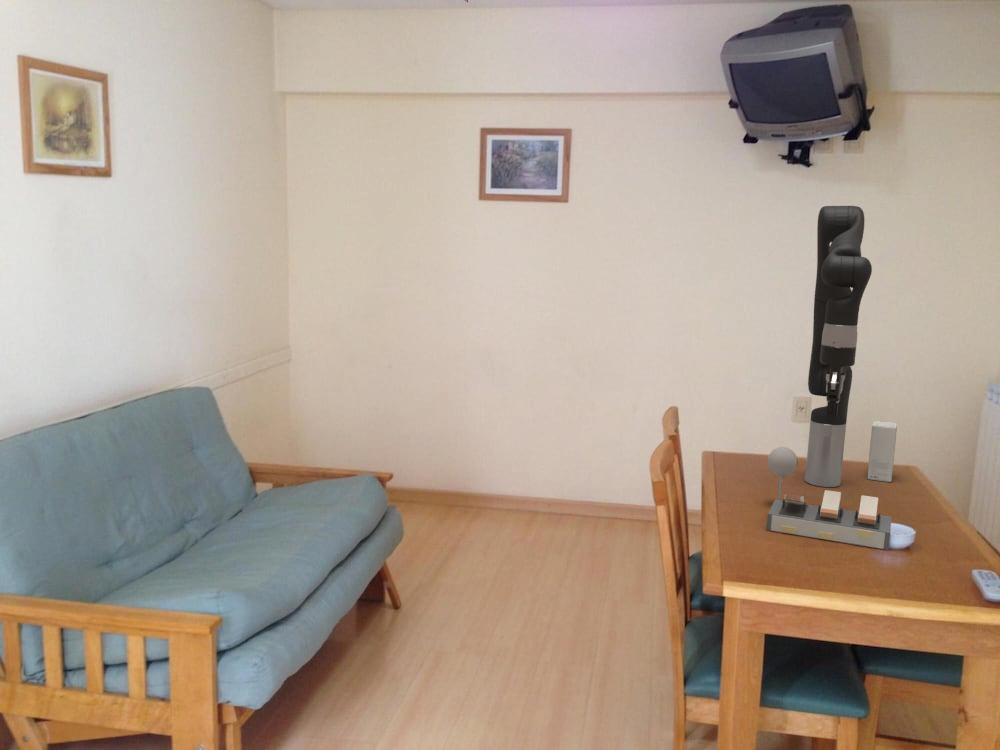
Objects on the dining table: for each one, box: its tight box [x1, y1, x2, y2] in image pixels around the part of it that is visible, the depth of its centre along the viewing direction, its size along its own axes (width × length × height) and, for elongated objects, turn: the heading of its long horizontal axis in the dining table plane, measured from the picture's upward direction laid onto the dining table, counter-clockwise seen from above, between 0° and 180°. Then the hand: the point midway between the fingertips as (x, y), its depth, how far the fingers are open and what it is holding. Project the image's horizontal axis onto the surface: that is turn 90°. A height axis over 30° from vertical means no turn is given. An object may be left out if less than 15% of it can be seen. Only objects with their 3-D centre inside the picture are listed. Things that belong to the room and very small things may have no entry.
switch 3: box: [858, 494, 879, 524], centre depth 204 cm, size 9×4×1 cm, turn 155°
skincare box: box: [867, 420, 898, 483], centre depth 254 cm, size 8×7×16 cm
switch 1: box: [784, 493, 805, 504], centre depth 211 cm, size 9×4×1 cm, turn 156°
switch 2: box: [820, 489, 842, 519], centre depth 208 cm, size 9×4×1 cm, turn 155°
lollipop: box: [767, 446, 799, 501], centre depth 226 cm, size 7×7×15 cm
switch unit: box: [766, 498, 892, 551], centre depth 208 cm, size 12×26×6 cm, turn 66°
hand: (831, 418), depth 209 cm, fingers closed
